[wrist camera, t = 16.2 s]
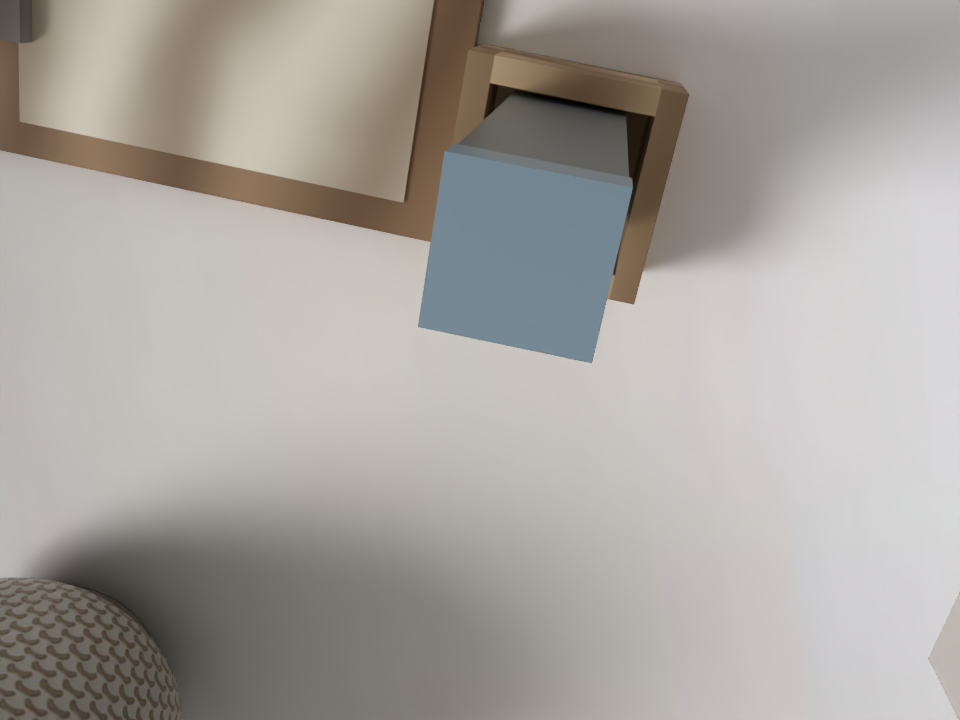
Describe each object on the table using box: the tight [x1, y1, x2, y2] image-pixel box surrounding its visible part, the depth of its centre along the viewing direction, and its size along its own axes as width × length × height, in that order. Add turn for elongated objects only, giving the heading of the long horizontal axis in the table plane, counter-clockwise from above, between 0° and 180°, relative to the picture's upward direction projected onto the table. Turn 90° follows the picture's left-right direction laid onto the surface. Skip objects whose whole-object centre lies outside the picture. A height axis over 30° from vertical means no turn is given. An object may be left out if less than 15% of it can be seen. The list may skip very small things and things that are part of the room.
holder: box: [453, 44, 689, 304], centre depth 30 cm, size 7×7×3 cm
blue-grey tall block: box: [418, 91, 633, 363], centre depth 24 cm, size 4×4×14 cm
